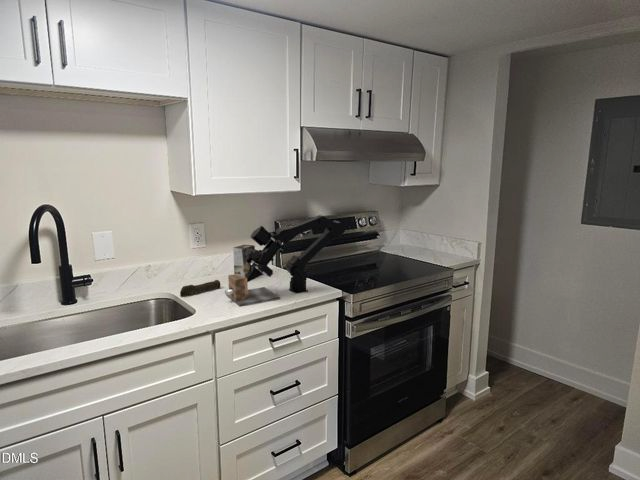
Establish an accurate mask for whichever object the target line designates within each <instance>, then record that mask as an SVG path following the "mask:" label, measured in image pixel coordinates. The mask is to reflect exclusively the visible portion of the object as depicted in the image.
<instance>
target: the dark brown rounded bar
mask: <svg viewBox="0 0 640 480" xmlns="http://www.w3.org/2000/svg"><path fill="white" fill-rule="evenodd" d="M215 289H221V281H220V280H218V279H215V280H213V281H208V282H205V283H201V284H196V285H195V284H194V285H193V284H189V285H184V286H182V288H181V289H180V295H179V296H180V298H181V297H183V298H184V297H191V296H194V295H195V294H198V293H201V292H206V291H211V290H215Z"/></svg>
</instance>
